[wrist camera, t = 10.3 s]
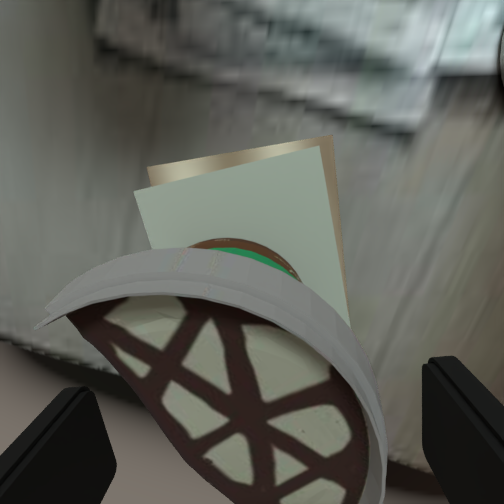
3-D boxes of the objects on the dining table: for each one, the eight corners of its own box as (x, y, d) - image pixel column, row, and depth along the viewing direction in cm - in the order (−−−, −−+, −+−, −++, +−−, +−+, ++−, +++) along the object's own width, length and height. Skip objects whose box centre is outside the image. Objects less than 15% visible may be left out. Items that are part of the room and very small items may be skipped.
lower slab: (321, 140, 23) (332, 134, 19) (340, 332, 27) (353, 360, 23) (166, 167, 24) (146, 167, 20) (206, 348, 28) (196, 377, 24)
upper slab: (308, 150, 19) (319, 145, 15) (343, 345, 23) (359, 380, 19) (158, 187, 20) (133, 191, 16) (213, 368, 24) (203, 407, 20)
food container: (371, 343, 18) (491, 539, 8) (283, 392, 19) (301, 615, 9) (249, 165, 16) (222, 154, 6) (159, 232, 17) (16, 311, 7)
